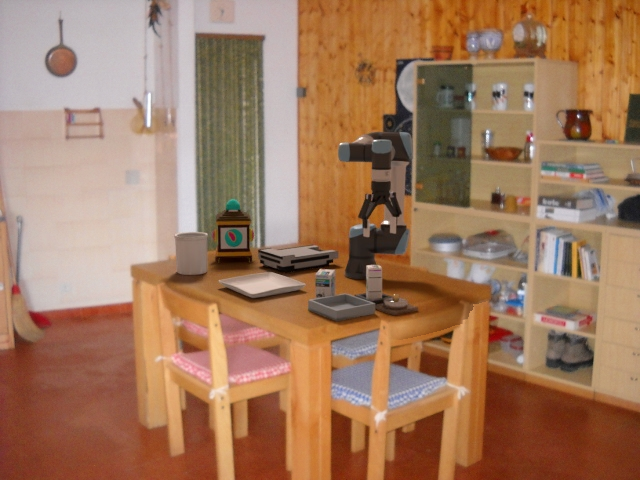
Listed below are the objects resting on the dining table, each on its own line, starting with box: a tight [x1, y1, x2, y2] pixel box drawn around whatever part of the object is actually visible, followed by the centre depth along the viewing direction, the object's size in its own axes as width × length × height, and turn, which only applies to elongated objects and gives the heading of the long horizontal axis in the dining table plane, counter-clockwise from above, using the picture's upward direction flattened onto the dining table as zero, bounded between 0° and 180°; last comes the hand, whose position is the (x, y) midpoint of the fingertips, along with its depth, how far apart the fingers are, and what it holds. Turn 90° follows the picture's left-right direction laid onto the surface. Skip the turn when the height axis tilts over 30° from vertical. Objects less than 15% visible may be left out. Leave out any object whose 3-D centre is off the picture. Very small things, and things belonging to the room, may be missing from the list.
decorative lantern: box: [212, 198, 255, 264], centre depth 378 cm, size 20×20×30 cm
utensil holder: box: [174, 231, 209, 276], centre depth 353 cm, size 15×15×18 cm
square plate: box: [218, 271, 307, 299], centre depth 324 cm, size 27×27×4 cm
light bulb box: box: [314, 268, 336, 299], centre depth 310 cm, size 11×7×11 cm, turn 170°
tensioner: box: [353, 292, 419, 317], centre depth 299 cm, size 24×12×6 cm, turn 35°
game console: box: [257, 244, 339, 274], centre depth 368 cm, size 21×32×8 cm, turn 127°
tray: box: [307, 293, 376, 322], centre depth 291 cm, size 18×18×4 cm
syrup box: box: [365, 264, 383, 300], centre depth 304 cm, size 6×6×14 cm
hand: (379, 234), depth 301 cm, fingers open, 13 cm apart
